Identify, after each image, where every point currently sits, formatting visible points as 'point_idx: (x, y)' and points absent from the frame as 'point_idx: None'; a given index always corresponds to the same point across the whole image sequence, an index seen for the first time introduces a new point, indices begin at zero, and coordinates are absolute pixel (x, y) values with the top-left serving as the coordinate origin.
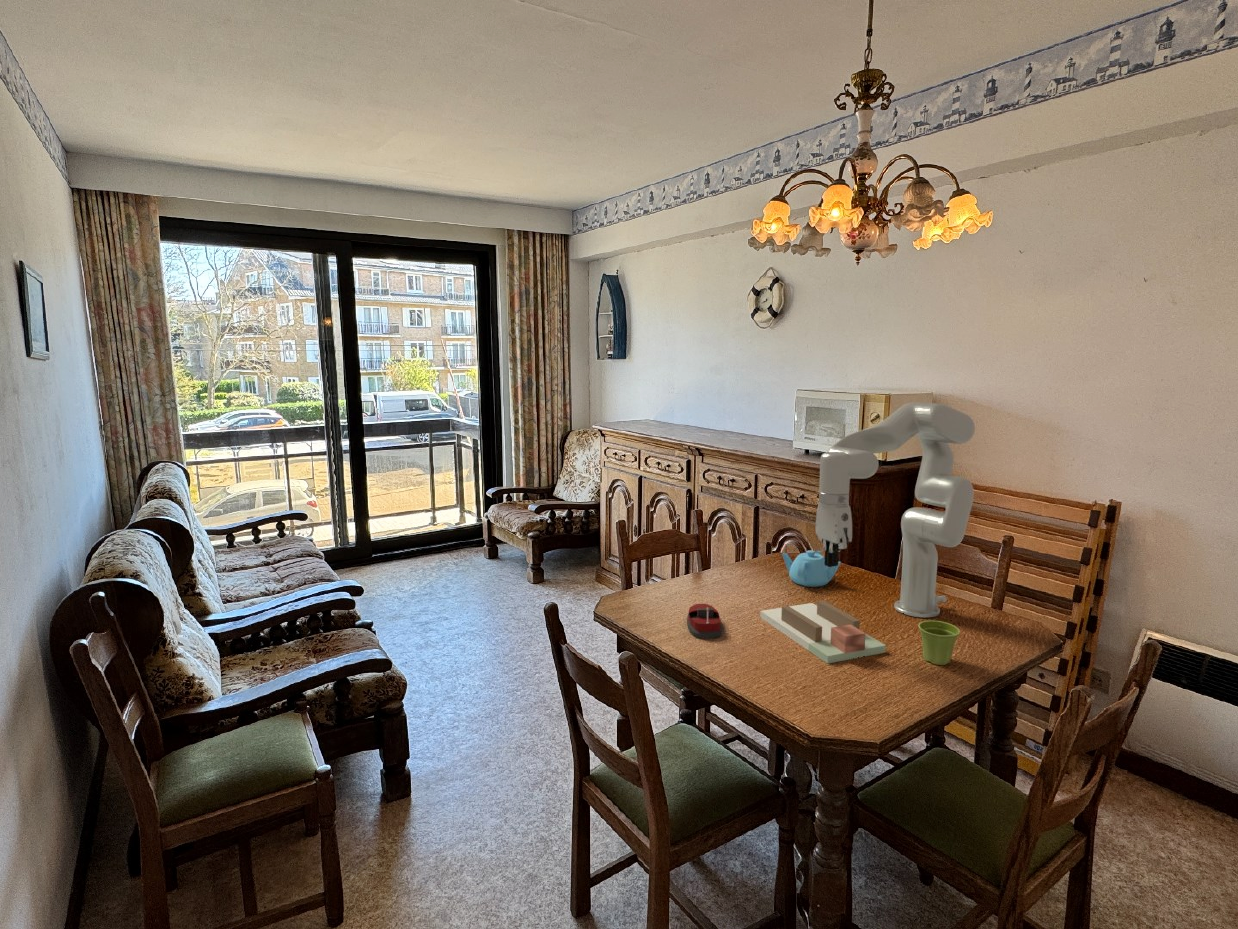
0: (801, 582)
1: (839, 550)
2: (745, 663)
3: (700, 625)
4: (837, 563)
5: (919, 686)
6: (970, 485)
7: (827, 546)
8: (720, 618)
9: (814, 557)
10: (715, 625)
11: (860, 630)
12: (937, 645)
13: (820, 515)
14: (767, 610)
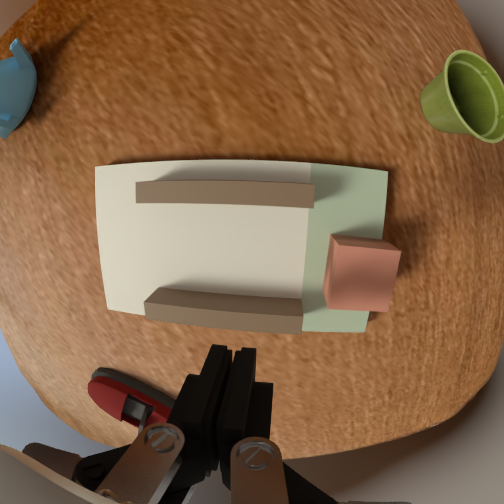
0: (18, 124)
1: (280, 460)
2: (285, 423)
3: None
4: (254, 358)
5: (486, 231)
6: None
7: (187, 495)
8: (153, 411)
9: None
10: None
11: (382, 250)
12: (483, 130)
13: None
14: (108, 295)
